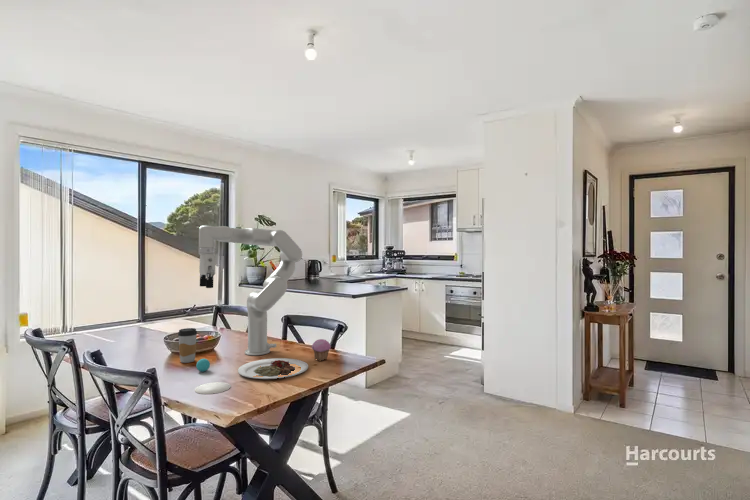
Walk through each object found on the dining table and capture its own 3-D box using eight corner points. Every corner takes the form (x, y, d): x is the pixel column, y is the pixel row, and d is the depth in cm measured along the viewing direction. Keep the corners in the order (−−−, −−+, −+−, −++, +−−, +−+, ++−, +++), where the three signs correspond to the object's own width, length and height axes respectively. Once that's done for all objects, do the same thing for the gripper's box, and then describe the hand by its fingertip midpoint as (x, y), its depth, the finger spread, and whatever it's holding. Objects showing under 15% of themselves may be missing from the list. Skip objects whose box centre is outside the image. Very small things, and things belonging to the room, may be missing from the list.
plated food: (236, 385, 166) (236, 376, 166) (239, 364, 195) (239, 357, 195) (312, 379, 174) (312, 371, 174) (304, 360, 203) (304, 353, 203)
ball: (208, 368, 187) (208, 356, 187) (210, 372, 182) (210, 359, 182) (195, 370, 184) (195, 358, 184) (197, 374, 179) (197, 361, 179)
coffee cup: (200, 359, 203) (200, 328, 203) (191, 363, 194) (191, 331, 194) (184, 358, 204) (184, 327, 203) (174, 363, 195) (174, 331, 195)
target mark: (227, 380, 170) (227, 380, 170) (234, 390, 159) (234, 389, 159) (192, 386, 164) (192, 385, 164) (197, 396, 152) (197, 395, 152)
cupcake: (322, 356, 208) (323, 336, 208) (334, 360, 202) (334, 339, 202) (308, 360, 202) (308, 339, 202) (319, 363, 196) (319, 342, 196)
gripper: (221, 251, 197) (220, 288, 197) (209, 251, 211) (208, 285, 211) (204, 251, 193) (203, 288, 193) (193, 251, 206) (192, 286, 206)
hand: (206, 287), depth 202 cm, fingers open, 9 cm apart
